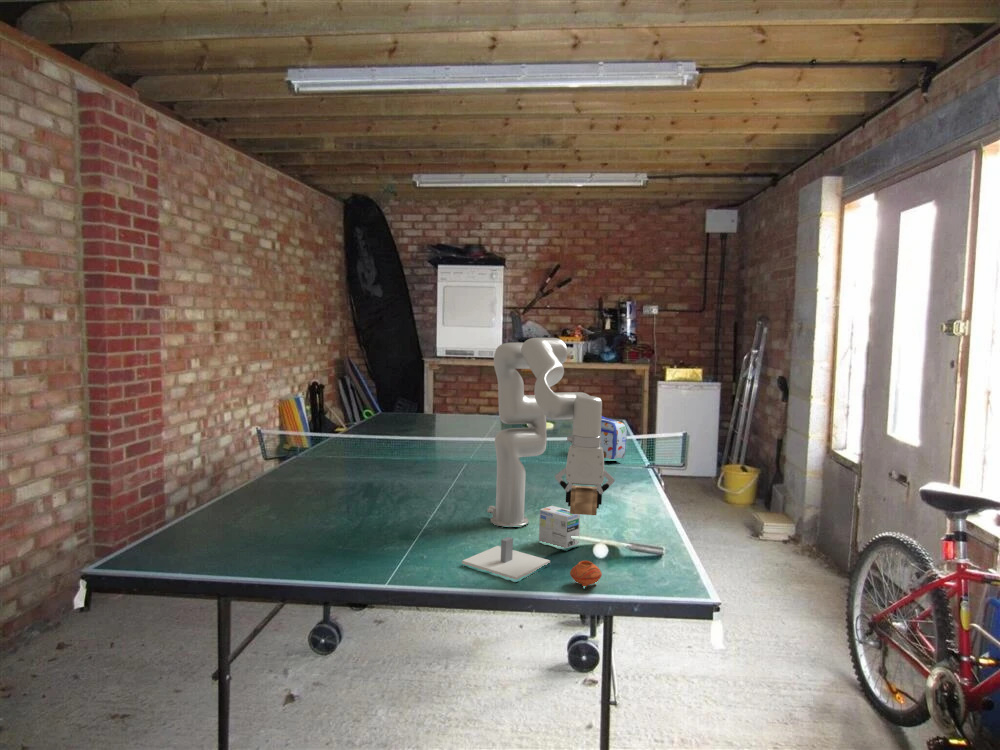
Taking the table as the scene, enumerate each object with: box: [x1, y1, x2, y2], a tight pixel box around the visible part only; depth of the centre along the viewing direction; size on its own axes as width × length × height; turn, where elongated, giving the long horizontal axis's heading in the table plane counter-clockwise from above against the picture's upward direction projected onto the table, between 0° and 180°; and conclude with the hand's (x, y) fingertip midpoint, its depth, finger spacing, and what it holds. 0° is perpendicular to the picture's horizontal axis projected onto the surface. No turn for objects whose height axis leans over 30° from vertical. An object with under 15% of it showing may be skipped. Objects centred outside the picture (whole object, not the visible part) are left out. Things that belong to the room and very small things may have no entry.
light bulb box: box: [538, 505, 581, 548], centre depth 194 cm, size 11×7×11 cm, turn 48°
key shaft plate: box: [461, 536, 551, 580], centre depth 177 cm, size 18×16×8 cm
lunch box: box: [600, 415, 628, 459], centre depth 325 cm, size 28×10×22 cm, turn 30°
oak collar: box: [569, 484, 598, 516], centre depth 177 cm, size 7×7×6 cm
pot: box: [569, 560, 603, 587], centre depth 165 cm, size 8×8×7 cm
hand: (583, 505), depth 177 cm, fingers closed on oak collar, 7 cm apart
